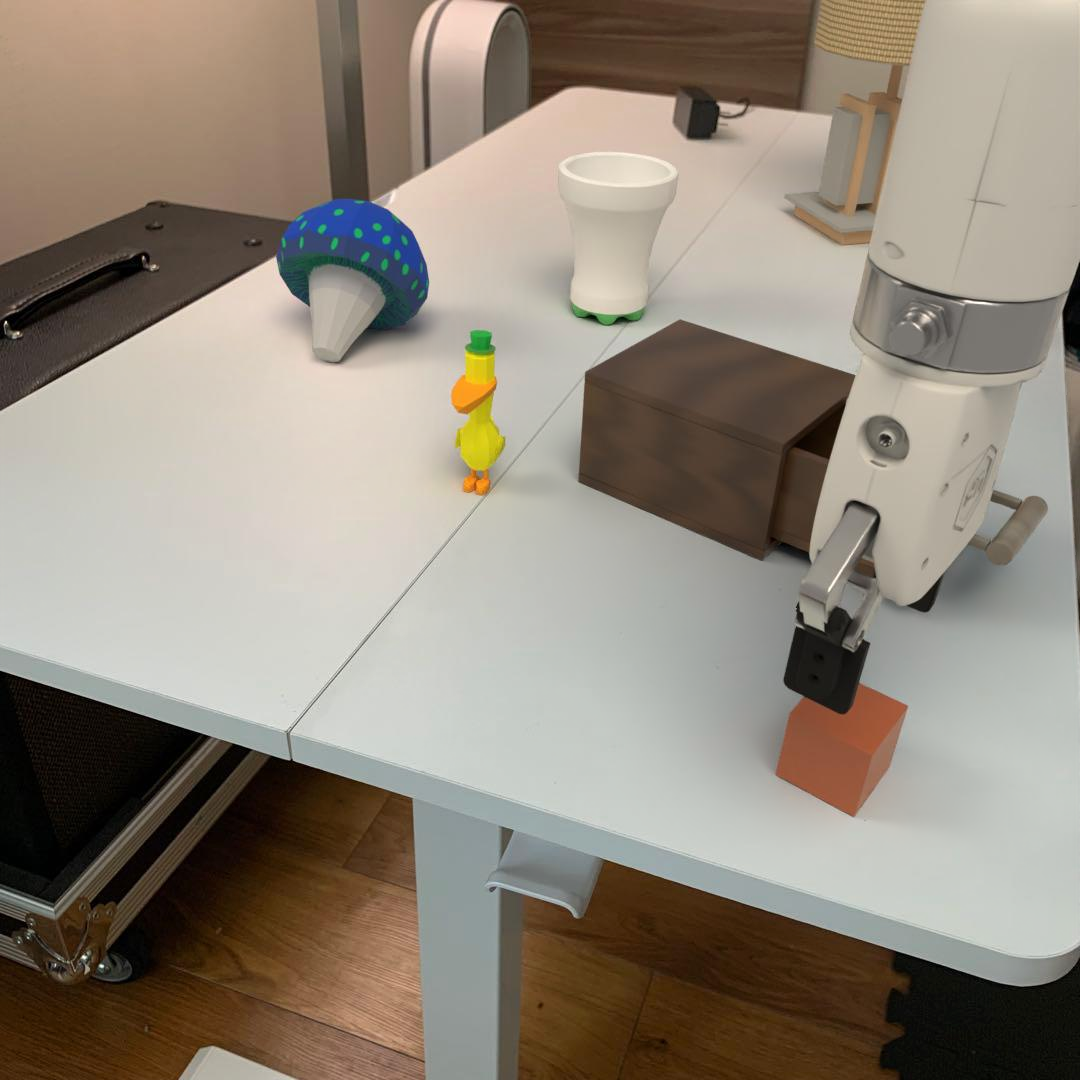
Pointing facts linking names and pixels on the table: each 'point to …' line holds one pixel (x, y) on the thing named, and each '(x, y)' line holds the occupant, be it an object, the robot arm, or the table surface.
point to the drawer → (807, 480)
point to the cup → (614, 228)
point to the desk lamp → (859, 115)
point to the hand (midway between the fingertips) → (860, 645)
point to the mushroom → (352, 271)
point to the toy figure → (478, 411)
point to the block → (841, 747)
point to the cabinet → (703, 429)
